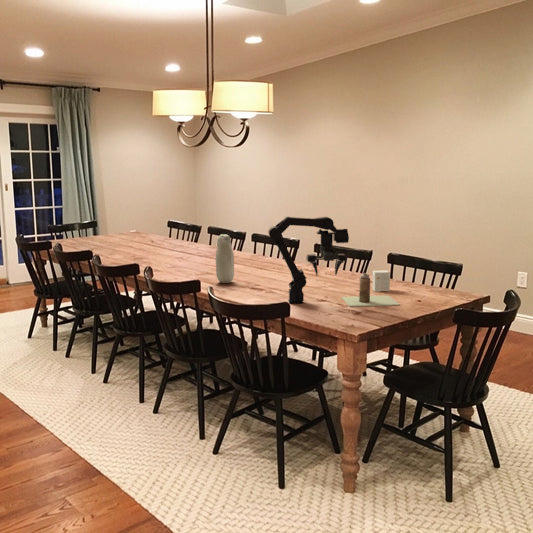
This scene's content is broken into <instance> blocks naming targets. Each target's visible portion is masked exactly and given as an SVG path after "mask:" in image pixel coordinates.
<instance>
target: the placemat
mask: <svg viewBox="0 0 533 533" xmlns="http://www.w3.org/2000/svg"><path fill="white" fill-rule="evenodd" d="M341 299H342V300H343V301H344V302H345V303H346V305H347V306H348V307H349V308H354V307H355V308H359V307H361V308H362V307H364V308H365V307H389V306H390V307H393V305H398V306H400V303H399V302H397V301H396V300H395V299H394V298H393V297H391V296H390V295H370V302H369V303H361V302H359V296H341Z"/></svg>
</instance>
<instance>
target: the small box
mask: <svg viewBox="0 0 533 533" xmlns="http://www.w3.org/2000/svg"><path fill="white" fill-rule="evenodd" d="M390 278H391V272H390V270H387V269H385V270H372V291H373V290H374V291H375V292H374V291H373V292H374V293H381V292H380V291H389V292H390V290H391V288H390V287H391V286H390V285H391V283H390V282H391V279H390Z"/></svg>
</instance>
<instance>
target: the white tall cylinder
mask: <svg viewBox="0 0 533 533" xmlns="http://www.w3.org/2000/svg"><path fill="white" fill-rule="evenodd" d="M216 242H217V245H216V246H217V247H216V252H215V257H214V258H215V274H216V276H215V277H216V278H217V280H218V282H219V283H221V284H229V283H231V282H232V281H233V280H234V277H235V252H234V250H233V247H232V240H231V236H230V235H228V234H225V233H221V234H220V235H218V237H217V241H216Z"/></svg>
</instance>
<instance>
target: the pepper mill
mask: <svg viewBox="0 0 533 533" xmlns="http://www.w3.org/2000/svg"><path fill="white" fill-rule="evenodd" d="M358 294H359V302H361V303H369V302H370V296H371V278H370V274H367V273H366V272H364V273H361V274H360V277H359V291H358Z"/></svg>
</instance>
